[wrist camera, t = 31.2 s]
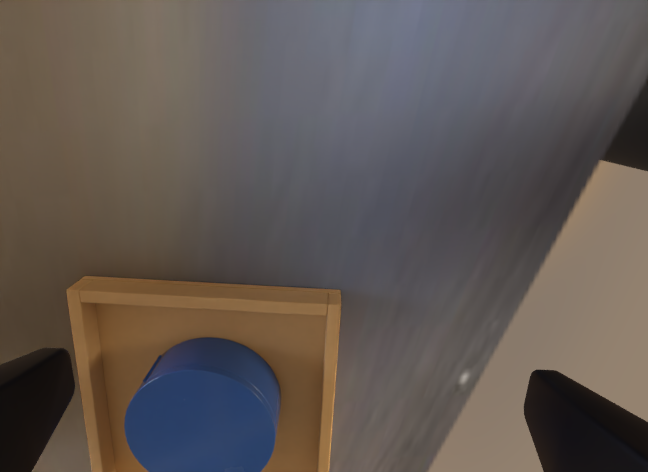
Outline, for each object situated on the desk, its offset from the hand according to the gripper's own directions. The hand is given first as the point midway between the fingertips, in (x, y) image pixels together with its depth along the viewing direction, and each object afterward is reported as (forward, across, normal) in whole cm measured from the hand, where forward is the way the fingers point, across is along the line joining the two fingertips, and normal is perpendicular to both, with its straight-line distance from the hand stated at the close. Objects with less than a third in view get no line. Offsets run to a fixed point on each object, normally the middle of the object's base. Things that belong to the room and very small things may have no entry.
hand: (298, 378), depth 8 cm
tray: (+12, +5, +10) cm, 16 cm away
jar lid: (+9, +5, +10) cm, 14 cm away
